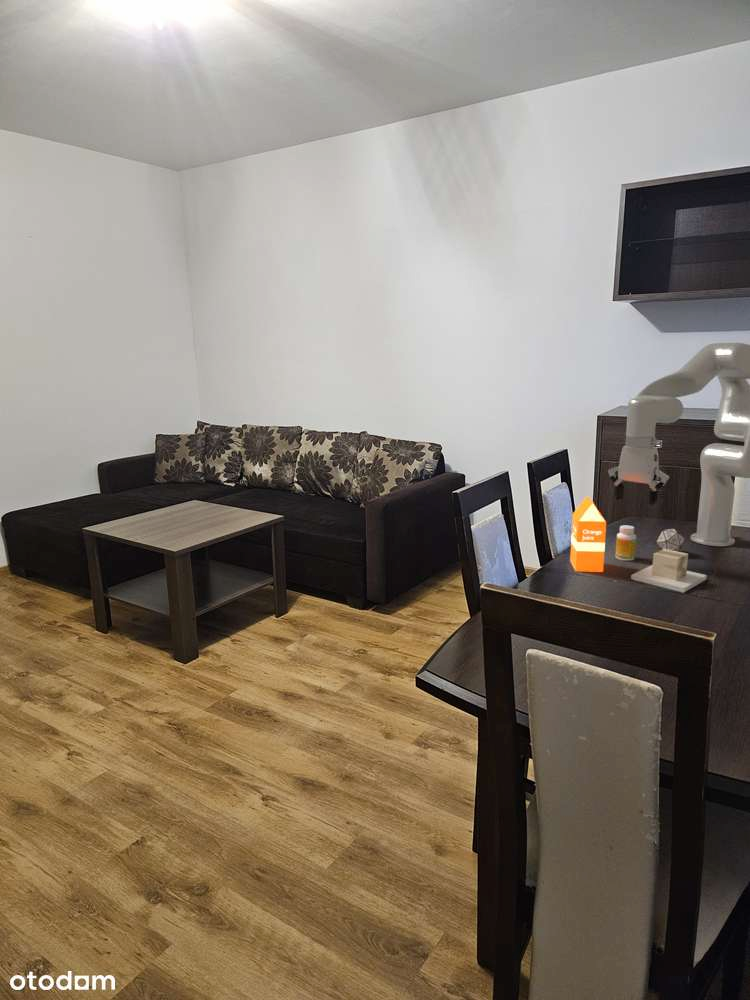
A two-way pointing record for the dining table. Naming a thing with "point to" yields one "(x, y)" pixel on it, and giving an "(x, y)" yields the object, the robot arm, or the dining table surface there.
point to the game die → (670, 539)
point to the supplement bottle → (626, 543)
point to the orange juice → (588, 538)
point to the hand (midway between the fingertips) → (635, 501)
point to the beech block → (669, 564)
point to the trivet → (678, 585)
